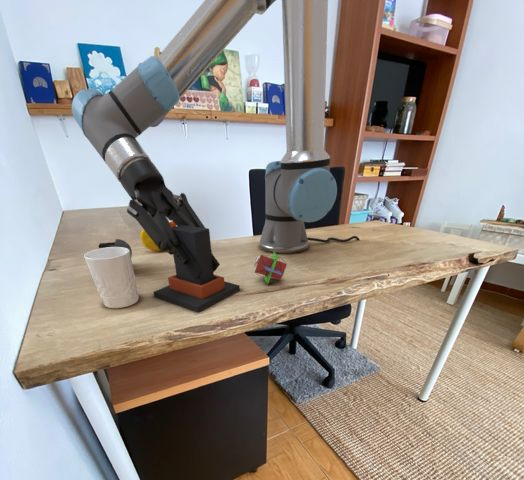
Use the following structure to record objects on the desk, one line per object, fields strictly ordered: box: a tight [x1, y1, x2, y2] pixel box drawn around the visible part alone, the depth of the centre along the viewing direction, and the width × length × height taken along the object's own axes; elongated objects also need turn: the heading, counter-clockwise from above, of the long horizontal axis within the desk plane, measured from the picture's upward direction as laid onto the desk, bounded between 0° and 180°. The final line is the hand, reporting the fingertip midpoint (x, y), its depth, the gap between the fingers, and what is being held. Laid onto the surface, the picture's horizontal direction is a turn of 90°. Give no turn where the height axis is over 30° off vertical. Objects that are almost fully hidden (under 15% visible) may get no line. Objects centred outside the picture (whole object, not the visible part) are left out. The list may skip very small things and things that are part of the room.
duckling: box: [139, 218, 177, 252], centre depth 89 cm, size 11×5×10 cm, turn 110°
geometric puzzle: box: [253, 252, 288, 286], centre depth 68 cm, size 7×7×8 cm
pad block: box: [172, 225, 215, 285], centre depth 59 cm, size 4×7×11 cm, turn 55°
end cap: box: [97, 238, 133, 258], centre depth 74 cm, size 10×7×7 cm
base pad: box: [153, 273, 241, 313], centre depth 63 cm, size 13×13×4 cm
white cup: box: [83, 247, 140, 309], centre depth 58 cm, size 8×8×10 cm
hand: (207, 271), depth 59 cm, fingers closed on pad block, 4 cm apart
